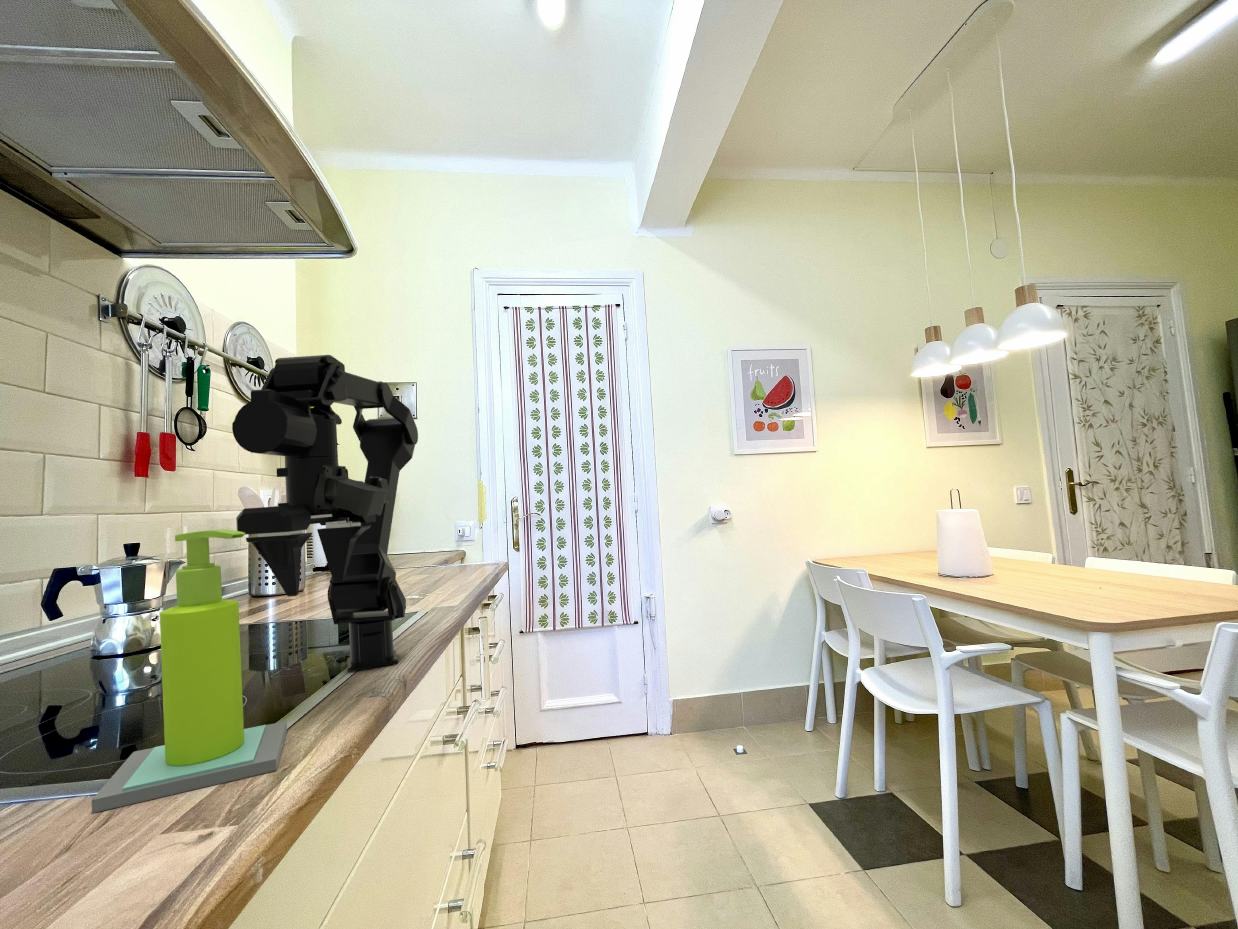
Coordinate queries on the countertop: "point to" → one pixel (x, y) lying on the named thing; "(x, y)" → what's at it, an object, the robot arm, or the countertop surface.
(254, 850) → the countertop surface
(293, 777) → the countertop surface
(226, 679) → the soap dispenser
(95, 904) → the countertop surface
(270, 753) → the board
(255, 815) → the countertop surface
